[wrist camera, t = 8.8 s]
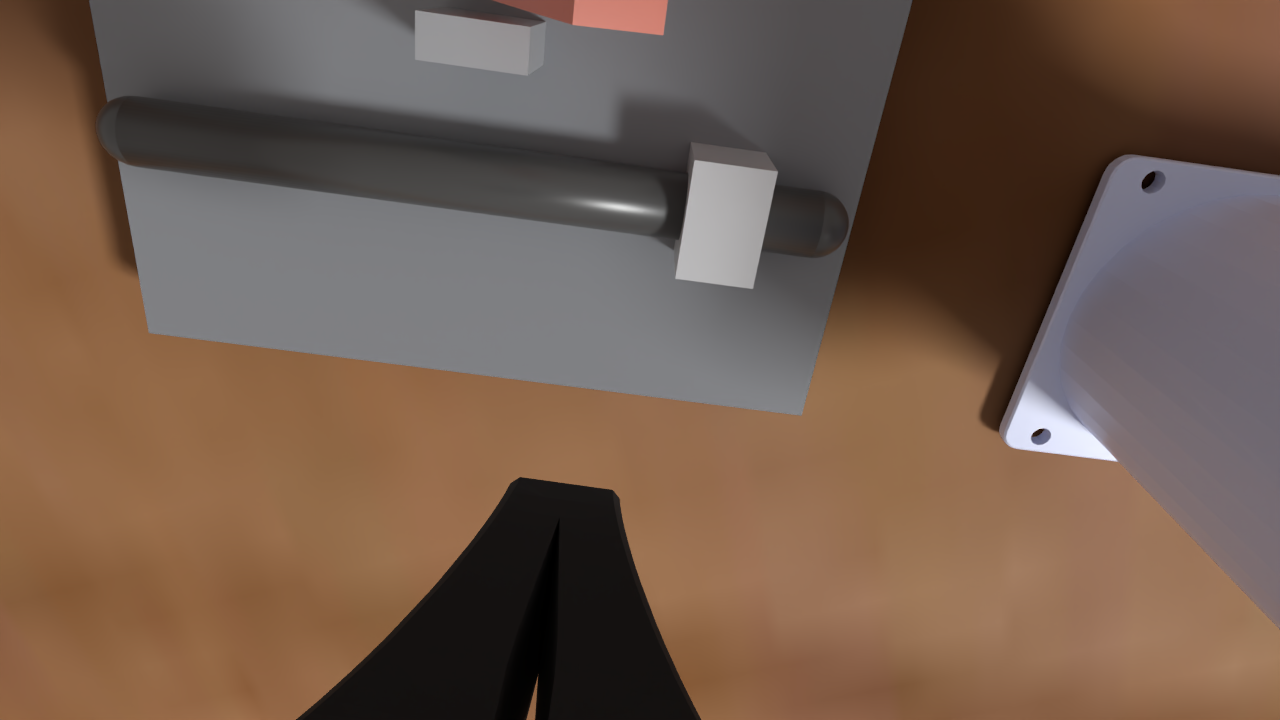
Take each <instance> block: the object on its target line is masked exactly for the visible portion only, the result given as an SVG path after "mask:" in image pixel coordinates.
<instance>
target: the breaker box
mask: <svg viewBox="0 0 1280 720" xmlns="http://www.w3.org/2000/svg"><path fill="white" fill-rule="evenodd" d="M912 1H913V0H668V4H667V11H666V19H665V26H664V34H663V35H656V34H647V33H638V32H630V31H621V30H612V29H603V28H595V27H586V26H577V25H571V24H568V23H564V22H561V21H558V20H555V19H551V18H548V17H545V16H542V15H538V14H535V13H532V12H529V11H525V10H522V9H519V8H516V7H512V6H509V5H506V4H502V3H499V2H496V1H493V0H89V3H90V8H91V14H92V19H93V25H94V30H95V36H96V42H97V47H98V53H99V58H100V64H101V69H102V75H103V80H104V86H105V92H106V97H107V103H106V104H105V105H104V106H103V107H102V108H101V110H100V112H99V113H98V116H97V119H96V133H97V136H98V139H99V141H100V143H101V145H102V146H103V148H104V149H105V150H106V151H107V152H108V153H109V154H110V155H111V156H112V157H114V158H115V159H117V160H118V164H119V169H120V175H121V180H122V186H123V191H124V197H125V203H126V208H127V214H128V219H129V225H130V230H131V236H132V241H133V247H134V253H135V258H136V264H137V269H138V275H139V280H140V286H141V291H142V297H143V302H144V308H145V314H146V319H147V325H148V330H149V333H154V334H162V335H169V336H177V337H185V338H193V339H201V340H209V341H217V342H225V343H233V344H240V345H248V346H256V347H264V348H272V349H280V350H288V351H296V352H304V353H311V354H319V355H327V356H335V357H343V358H351V359H359V360H367V361H375V362H383V363H390V364H398V365H406V366H414V367H422V368H430V369H438V370H446V371H454V372H461V373H469V374H477V375H485V376H493V377H501V378H509V379H517V380H525V381H532V382H540V383H548V384H556V385H564V386H572V387H580V388H588V389H596V390H603V391H611V392H619V393H627V394H635V395H643V396H651V397H659V398H667V399H674V400H682V401H690V402H698V403H706V404H714V405H722V406H730V407H738V408H745V409H753V410H761V411H769V412H777V413H785V414H793V415H801V416H802V412H803V408H804V404H805V401H806V397H807V393H808V389H809V386H810V382H811V378H812V374H813V371H814V367H815V363H816V359H817V356H818V352H819V348H820V344H821V341H822V337H823V333H824V330H825V326H826V322H827V318H828V315H829V311H830V307H831V303H832V300H833V296H834V292H835V288H836V285H837V281H838V277H839V273H840V270H841V266H842V262H843V259H844V255H845V251H846V247H847V244H848V240H849V236H850V232H851V229H852V225H853V221H854V217H855V214H856V210H857V206H858V202H859V199H860V195H861V191H862V187H863V184H864V180H865V176H866V173H867V169H868V165H869V161H870V158H871V154H872V150H873V146H874V143H875V139H876V135H877V131H878V128H879V124H880V120H881V116H882V113H883V109H884V105H885V101H886V98H887V94H888V90H889V87H890V83H891V79H892V75H893V72H894V68H895V64H896V60H897V57H898V53H899V49H900V45H901V42H902V38H903V34H904V30H905V27H906V23H907V19H908V15H909V12H910V8H911V4H912Z"/></svg>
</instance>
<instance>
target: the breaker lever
mask: <svg viewBox="0 0 1280 720" xmlns="http://www.w3.org/2000/svg"><path fill="white" fill-rule="evenodd" d="M493 1H496V2H499V3H502V4H506V5H509V6H512V7H516V8H519V9H522V10H525V11H529V12H532V13H535V14H538V15H542V16H545V17H548V18H551V19H555V20H558V21H561V22H564V23H568V24H571V25H577V26H586V27H595V28H603V29H612V30H621V31H630V32H638V33H647V34H656V35H663V34H664V26H665V19H666V11H667V4H668V0H493Z"/></svg>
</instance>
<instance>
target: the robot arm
mask: <svg viewBox="0 0 1280 720" xmlns="http://www.w3.org/2000/svg"><path fill="white" fill-rule="evenodd" d="M1152 171H1154V172H1155V180H1154V181H1153V183H1152V184H1151V185H1150V186H1149V187H1147V188H1145V189H1142V187H1141V185H1142V180H1143V179H1144V178H1145V176H1146V175H1147V174H1149V173H1150V172H1152ZM1043 428H1044V431H1043V432H1042V433H1041V434H1040V435H1038V436H1036V437H1031V435H1032V434H1033V433H1034V431H1036V430H1038V429H1043ZM999 433H1000V436H1001V438H1002V439H1003V440H1004V442H1005V443H1006V444H1007V445H1008V446H1009V447H1012V448H1015V449H1022V450H1030V451H1038V452H1046V453H1054V454H1062V455H1069V456H1077V457H1085V458H1093V459H1101V460H1109V461H1117V462H1119V463H1120V464H1121V465H1122V466H1123V467H1124V468H1125V469H1126V470H1127V471H1128V472H1129V473H1130V474H1131V475H1132V476H1133V477H1134V478H1135V479H1136V480H1137V481H1138V482H1139V484H1140V485H1141V486H1142V487H1143V488H1144V489H1145V490H1146V491H1147V492H1148V493H1149V494H1150V495H1151V496H1152V497H1153V498H1154V499H1155V500H1156V501H1157V502H1158V503H1159V504H1160V505H1161V506H1162V507H1163V508H1164V510H1165V511H1166V512H1167V513H1168V514H1169V515H1170V516H1171V517H1172V518H1173V519H1174V520H1175V521H1176V522H1177V523H1178V524H1179V525H1180V526H1181V527H1182V528H1183V529H1184V530H1185V531H1186V532H1187V533H1188V534H1189V536H1190V537H1191V538H1192V539H1193V540H1194V541H1195V542H1196V543H1197V544H1198V545H1199V546H1200V547H1201V548H1202V549H1203V550H1204V551H1205V552H1206V553H1207V554H1208V555H1209V556H1210V557H1211V558H1212V559H1213V561H1214V562H1215V563H1216V564H1217V565H1218V566H1219V567H1220V568H1221V569H1222V570H1223V571H1224V572H1225V573H1226V574H1227V575H1228V576H1229V577H1230V578H1231V579H1232V580H1233V581H1234V582H1235V583H1236V584H1237V585H1238V587H1239V588H1240V589H1241V590H1242V591H1243V592H1244V593H1245V594H1246V595H1247V596H1248V597H1249V598H1250V599H1251V600H1252V601H1253V602H1254V603H1255V604H1256V605H1257V606H1258V607H1259V608H1260V609H1261V610H1262V612H1263V613H1264V614H1265V615H1266V616H1267V617H1268V618H1269V619H1270V620H1271V621H1272V622H1273V623H1274V624H1275V625H1276V626H1277V627H1278V628H1279V629H1280V175H1274V174H1267V173H1260V172H1253V171H1246V170H1239V169H1232V168H1225V167H1218V166H1211V165H1204V164H1197V163H1190V162H1183V161H1176V160H1169V159H1162V158H1155V157H1148V156H1141V155H1134V154H1131V155H1123V156H1121V157H1118V158H1116V159H1115V160H1114V161H1113V162H1111V163H1110V164H1109V165H1108V167H1107V168H1106V170H1105V171H1104V173H1103V175H1102V178H1101V180H1100V183H1099V185H1098V188H1097V190H1096V193H1095V195H1094V197H1093V200H1092V202H1091V205H1090V207H1089V210H1088V212H1087V215H1086V217H1085V219H1084V222H1083V224H1082V227H1081V229H1080V232H1079V234H1078V237H1077V239H1076V241H1075V244H1074V246H1073V249H1072V251H1071V254H1070V256H1069V258H1068V261H1067V263H1066V266H1065V268H1064V271H1063V273H1062V276H1061V278H1060V280H1059V283H1058V285H1057V288H1056V290H1055V293H1054V295H1053V298H1052V300H1051V302H1050V305H1049V307H1048V310H1047V312H1046V315H1045V317H1044V319H1043V322H1042V324H1041V327H1040V329H1039V332H1038V334H1037V337H1036V339H1035V341H1034V344H1033V346H1032V349H1031V351H1030V354H1029V356H1028V359H1027V361H1026V363H1025V366H1024V368H1023V371H1022V373H1021V376H1020V378H1019V380H1018V383H1017V385H1016V388H1015V390H1014V393H1013V395H1012V398H1011V400H1010V402H1009V405H1008V407H1007V410H1006V412H1005V415H1004V417H1003V420H1002V422H1001V424H1000V429H999ZM537 677H538V687H537V701H536V715H535V720H701V718H700V717H699V715H698V713H697V711H696V709H695V707H694V705H693V703H692V701H691V699H690V697H689V695H688V693H687V691H686V689H685V687H684V685H683V683H682V681H681V679H680V677H679V674H678V672H677V670H676V668H675V666H674V663H673V661H672V659H671V657H670V655H669V652H668V650H667V648H666V646H665V644H664V641H663V639H662V636H661V634H660V632H659V629H658V627H657V624H656V622H655V619H654V617H653V614H652V611H651V609H650V606H649V603H648V601H647V598H646V596H645V593H644V590H643V588H642V585H641V582H640V579H639V576H638V573H637V570H636V567H635V564H634V561H633V558H632V554H631V551H630V547H629V544H628V540H627V537H626V533H625V529H624V524H623V520H622V514H621V508H620V499H619V497H618V496H617V495H616V494H615V492H614V491H613V490H609V489H601V488H594V487H587V486H580V485H573V484H565V483H558V482H551V481H544V480H536V479H529V478H522V477H520V478H518V479H517V480H515V481H513V482H512V483H511V484H510V485H509V487H508V489H507V491H506V493H505V494H504V496H503V498H502V499H501V501H500V502H499V504H498V505H497V507H496V508H495V510H494V511H493V513H492V514H491V516H490V517H489V518H488V520H487V521H486V523H485V524H484V525H483V527H482V528H481V529H480V531H479V532H478V533H477V535H476V536H475V537H474V539H473V540H472V541H471V543H470V544H469V545H468V546H467V548H466V549H465V550H464V551H463V552H462V554H461V555H460V556H459V557H458V558H457V560H456V561H455V562H454V563H453V565H452V566H451V567H450V568H449V569H448V571H447V572H446V573H445V574H444V575H443V577H442V578H441V579H440V580H439V581H438V583H437V584H436V585H435V586H434V587H433V588H432V589H431V590H430V592H429V593H428V594H427V595H426V596H425V597H424V598H423V599H422V600H421V601H420V602H419V603H418V604H417V605H416V607H415V608H414V609H413V610H412V611H411V612H410V613H409V614H408V615H407V616H406V617H405V618H404V619H403V620H402V621H401V622H400V624H399V625H398V626H397V627H396V628H395V629H394V630H393V631H392V632H391V633H390V634H389V635H388V636H387V637H386V638H385V639H384V640H383V641H382V642H381V643H380V644H379V645H378V646H377V647H376V648H375V649H374V650H373V651H372V652H371V653H370V654H369V655H368V656H367V657H366V658H365V659H364V660H363V661H362V662H361V663H359V664H358V665H357V666H356V667H355V668H354V669H353V670H352V671H351V672H350V673H349V674H348V675H347V676H346V677H344V678H343V679H342V680H341V681H340V682H339V683H338V684H337V685H336V686H334V687H333V688H332V689H331V690H330V691H329V692H328V693H327V694H326V695H324V696H323V697H322V698H321V699H320V700H319V701H318V702H317V703H315V704H314V705H313V706H312V707H311V708H310V709H308V710H307V711H306V712H305V713H303V714H302V715H301V716H300V717H299V718H297V719H296V720H526V719H527V715H528V711H529V707H530V704H531V700H532V696H533V692H534V688H535V684H536V681H537Z"/></svg>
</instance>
